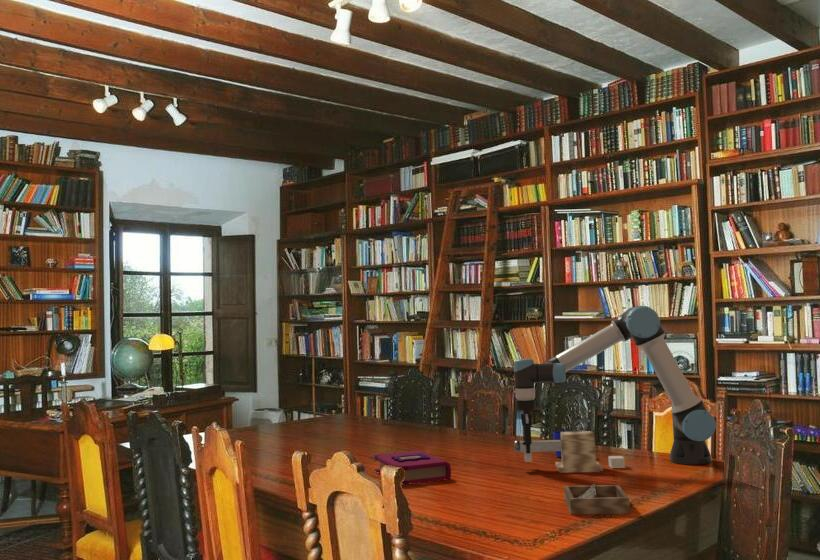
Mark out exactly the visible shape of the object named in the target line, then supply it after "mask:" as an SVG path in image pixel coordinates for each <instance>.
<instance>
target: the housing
mask: <svg viewBox="0 0 820 560" xmlns="http://www.w3.org/2000/svg"><path fill="white" fill-rule="evenodd" d="M560 437H561V440H562V450H563V451H561V457H562V458H561V457H560V458H561V461H555V466H556V469H557V471H558V472H559V474H561V473H562V474H563V473H568V474H569V473H601V472H600V471H603V472H604V467H602V465H601V464H600V462H599V461H597V460H596V456H597V455H596V440H595V439H596V438H595V433H594V431H591V430H590V431H589V430H588V431H587V430H586V431H571V432H560Z"/></svg>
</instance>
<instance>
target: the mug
mask: <svg viewBox="0 0 820 560" xmlns="http://www.w3.org/2000/svg"><path fill="white" fill-rule="evenodd" d="M560 432H572V431H571V430H570V431H569V430H558V431H553V432H552V437H553V440H561V437H560ZM554 453H555V456H556V457H557V458H561V459H562V457H561V451H554Z"/></svg>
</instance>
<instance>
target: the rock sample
mask: <svg viewBox="0 0 820 560" xmlns="http://www.w3.org/2000/svg"><path fill="white" fill-rule="evenodd" d="M591 485H592V486H591V487H590V489H588V490H587V491H586V492H585V493H584V494H582V495H580V496H579V497H578V498H598V493H597V489H596V485H597V484H596V483H593V484H591Z"/></svg>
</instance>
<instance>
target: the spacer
mask: <svg viewBox="0 0 820 560" xmlns="http://www.w3.org/2000/svg"><path fill="white" fill-rule="evenodd" d="M609 466H610V467H611V468H625V469H626V461H625V457H624V456H623V455H608V467H609ZM610 467H609V468H610ZM611 468H610V469H611Z"/></svg>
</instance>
